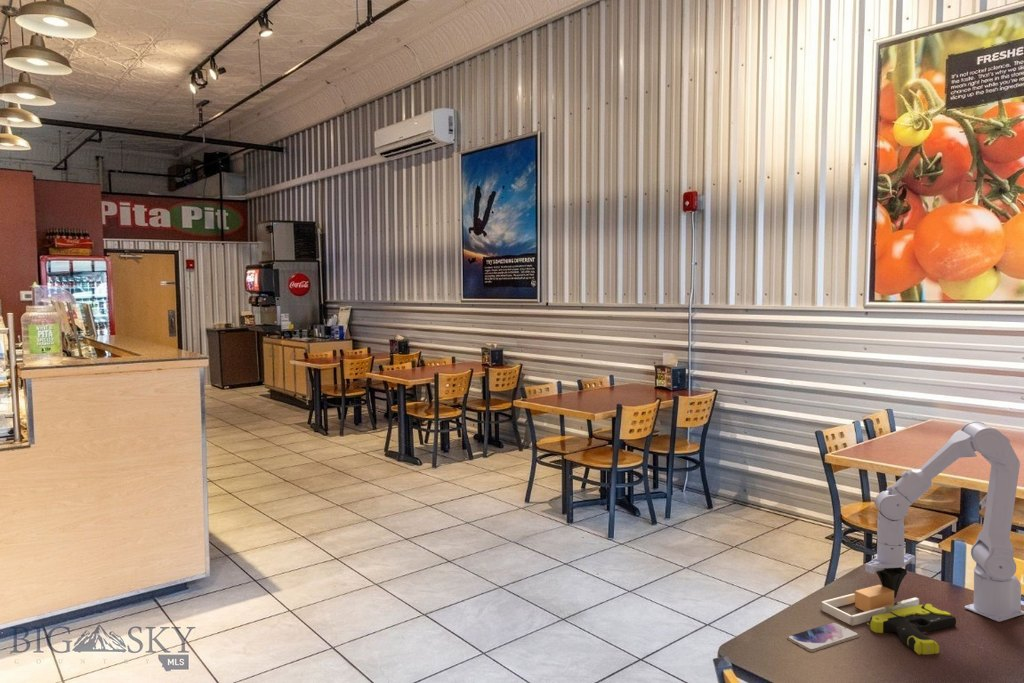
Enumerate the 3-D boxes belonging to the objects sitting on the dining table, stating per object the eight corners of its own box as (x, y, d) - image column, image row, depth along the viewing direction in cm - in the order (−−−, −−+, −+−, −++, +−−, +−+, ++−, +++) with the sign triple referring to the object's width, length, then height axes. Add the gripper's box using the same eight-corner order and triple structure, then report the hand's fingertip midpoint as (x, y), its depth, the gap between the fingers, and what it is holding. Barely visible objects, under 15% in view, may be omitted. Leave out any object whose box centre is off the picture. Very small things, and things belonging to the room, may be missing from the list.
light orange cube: (879, 600, 166) (879, 584, 166) (894, 607, 162) (894, 590, 162) (867, 603, 164) (867, 587, 164) (882, 610, 161) (882, 594, 160)
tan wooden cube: (867, 603, 164) (867, 587, 164) (881, 610, 161) (881, 593, 160) (855, 607, 163) (855, 590, 163) (869, 613, 159) (869, 597, 159)
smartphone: (785, 636, 149) (833, 621, 155) (785, 640, 149) (834, 625, 155) (811, 650, 143) (861, 634, 149) (811, 654, 143) (861, 638, 149)
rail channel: (887, 592, 170) (887, 585, 170) (919, 606, 162) (919, 598, 162) (855, 601, 166) (855, 594, 166) (886, 615, 158) (886, 608, 158)
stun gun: (989, 630, 145) (927, 601, 159) (920, 646, 139) (862, 614, 154) (989, 644, 145) (927, 613, 160) (919, 660, 139) (862, 627, 154)
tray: (853, 601, 166) (853, 593, 166) (885, 616, 158) (885, 607, 158) (820, 609, 162) (820, 601, 162) (852, 625, 154) (852, 617, 154)
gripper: (896, 532, 170) (896, 585, 171) (854, 541, 165) (854, 596, 165) (923, 541, 164) (923, 596, 164) (880, 550, 158) (879, 607, 159)
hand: (890, 596), depth 164 cm, fingers closed
